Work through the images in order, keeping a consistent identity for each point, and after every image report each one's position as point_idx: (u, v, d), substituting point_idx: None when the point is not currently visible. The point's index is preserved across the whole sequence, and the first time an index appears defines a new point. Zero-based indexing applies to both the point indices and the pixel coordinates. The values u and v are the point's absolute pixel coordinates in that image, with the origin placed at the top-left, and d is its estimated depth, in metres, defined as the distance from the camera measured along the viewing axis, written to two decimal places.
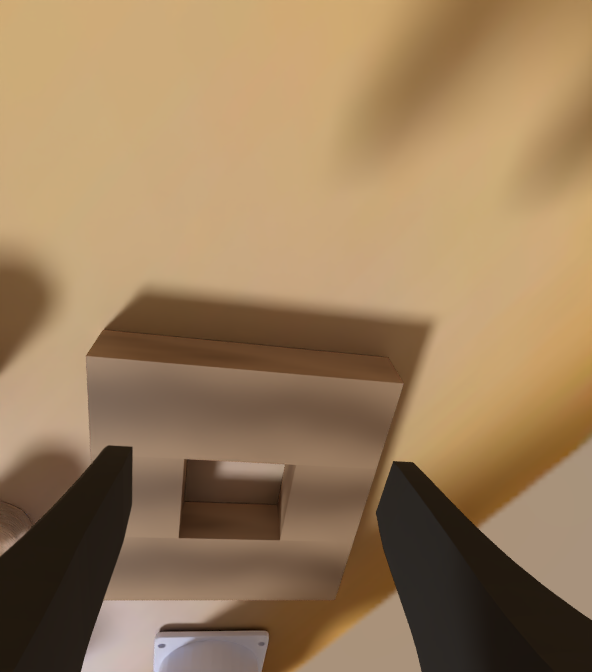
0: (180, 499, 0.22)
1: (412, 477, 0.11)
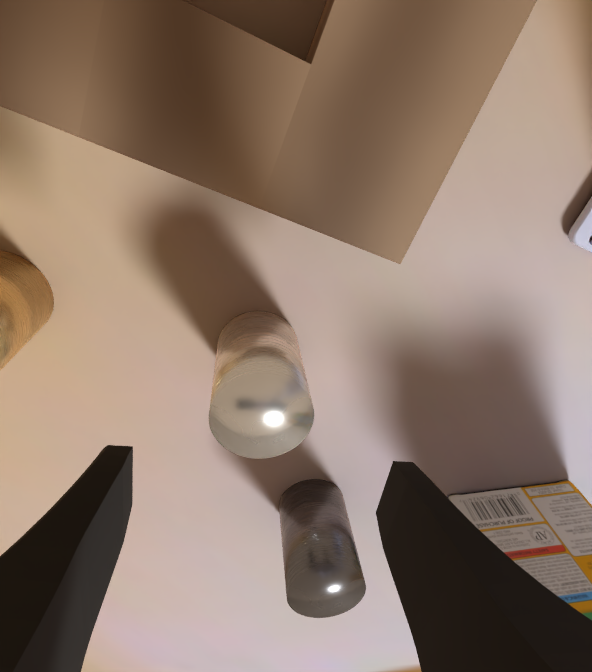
0: (215, 18, 0.12)
1: (412, 477, 0.11)
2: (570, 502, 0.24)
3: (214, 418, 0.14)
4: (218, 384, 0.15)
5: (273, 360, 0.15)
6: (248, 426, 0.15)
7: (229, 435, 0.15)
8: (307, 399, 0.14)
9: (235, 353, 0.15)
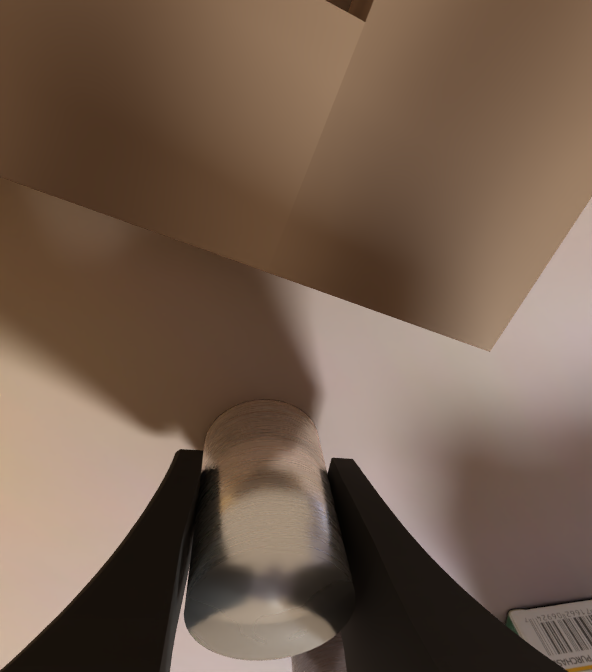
0: None
1: (347, 474, 0.11)
2: None
3: (193, 616, 0.09)
4: (200, 557, 0.09)
5: (290, 515, 0.09)
6: (249, 622, 0.09)
7: (218, 634, 0.09)
8: (346, 583, 0.09)
9: (229, 491, 0.10)
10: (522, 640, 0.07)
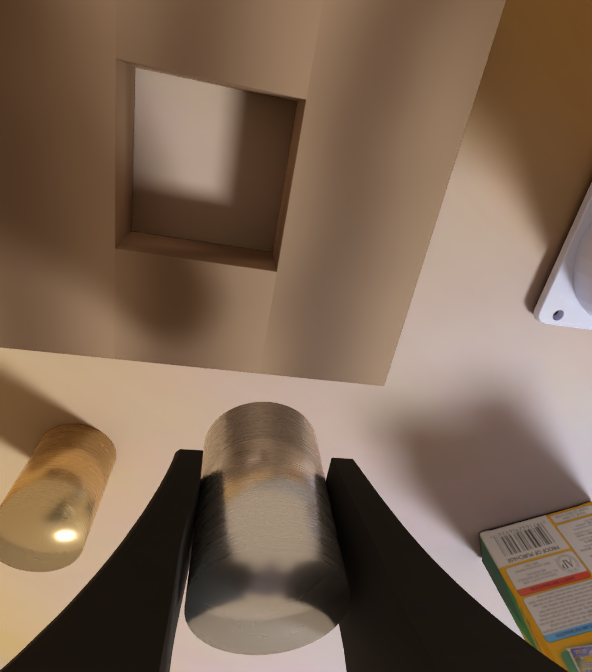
0: (197, 261, 0.15)
1: (347, 474, 0.11)
2: None
3: (193, 615, 0.09)
4: (197, 559, 0.09)
5: (281, 515, 0.09)
6: (248, 619, 0.09)
7: (220, 632, 0.10)
8: (339, 578, 0.09)
9: (224, 495, 0.10)
10: (522, 640, 0.07)
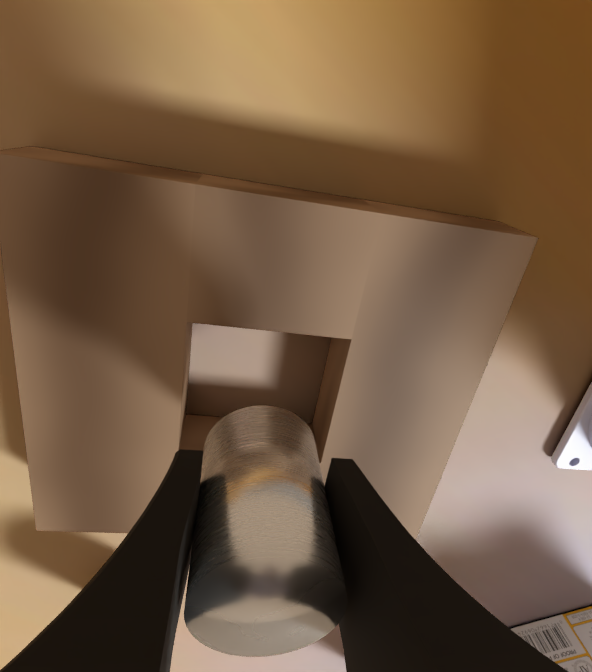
0: None
1: (347, 474, 0.11)
2: None
3: (193, 621, 0.09)
4: (194, 566, 0.09)
5: (275, 520, 0.09)
6: (247, 622, 0.10)
7: (221, 636, 0.10)
8: (334, 580, 0.09)
9: (220, 501, 0.10)
10: (522, 640, 0.07)
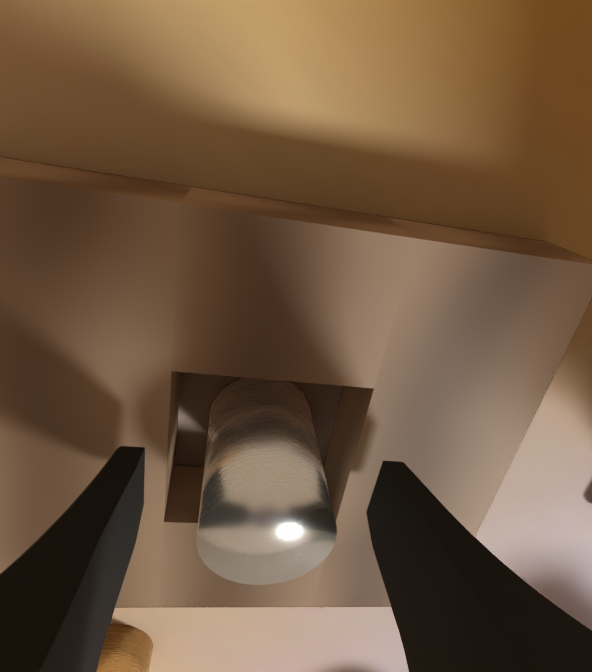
0: None
1: (401, 476, 0.11)
2: None
3: (204, 547, 0.11)
4: (205, 500, 0.11)
5: (274, 460, 0.11)
6: (250, 550, 0.11)
7: (228, 562, 0.11)
8: (325, 510, 0.11)
9: (226, 449, 0.12)
10: None
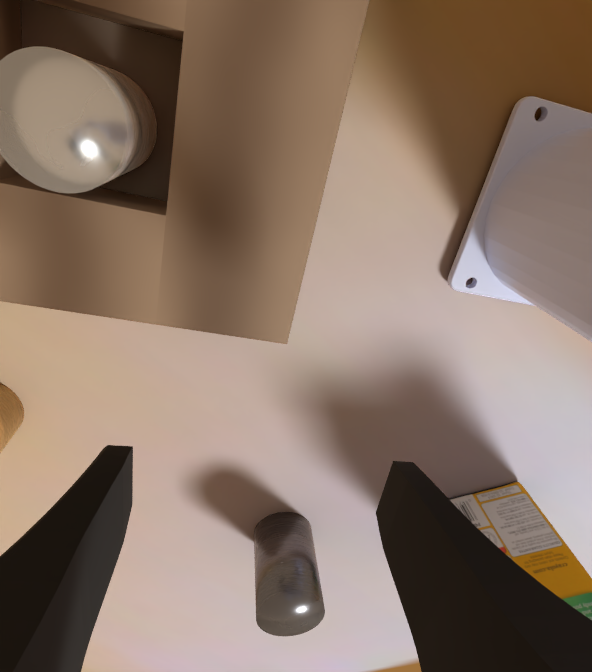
0: (81, 200, 0.15)
1: (412, 477, 0.11)
2: (516, 503, 0.26)
3: None
4: None
5: None
6: (41, 137, 0.12)
7: (20, 152, 0.12)
8: (108, 92, 0.11)
9: None
10: None
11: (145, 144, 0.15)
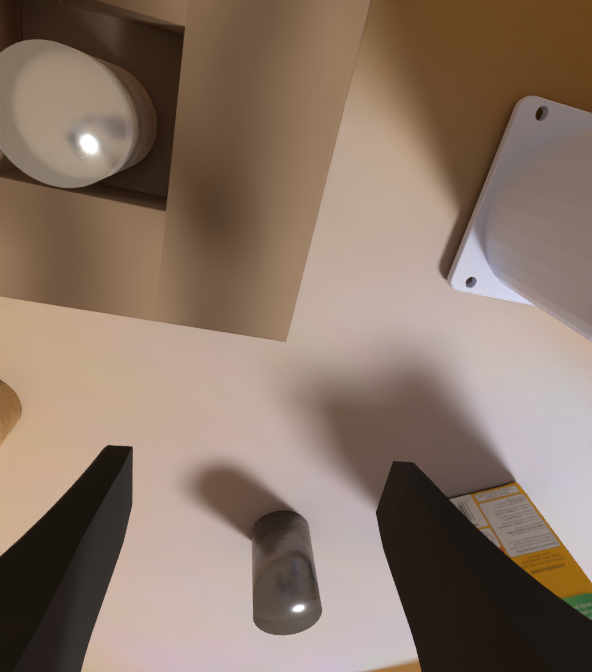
0: (81, 195, 0.15)
1: (412, 477, 0.11)
2: (514, 504, 0.26)
3: None
4: None
5: None
6: (40, 131, 0.12)
7: (19, 146, 0.12)
8: (108, 86, 0.11)
9: None
10: None
11: (145, 140, 0.15)
